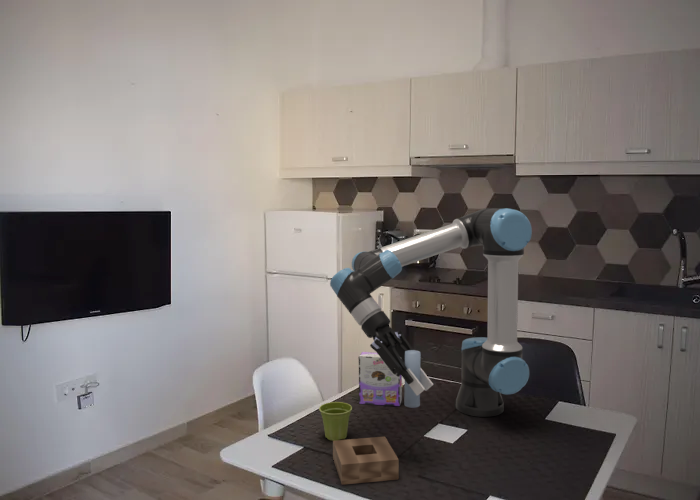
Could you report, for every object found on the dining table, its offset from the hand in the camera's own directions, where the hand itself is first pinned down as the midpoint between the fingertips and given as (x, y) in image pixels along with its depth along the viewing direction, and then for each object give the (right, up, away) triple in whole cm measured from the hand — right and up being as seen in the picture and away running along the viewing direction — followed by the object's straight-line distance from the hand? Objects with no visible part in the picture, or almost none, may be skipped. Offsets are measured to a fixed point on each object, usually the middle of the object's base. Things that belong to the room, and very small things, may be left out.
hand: (425, 389), depth 150 cm
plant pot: (-23, -18, +18) cm, 35 cm away
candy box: (-9, -15, +46) cm, 49 cm away
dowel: (-3, -5, +3) cm, 6 cm away
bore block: (-16, -20, -2) cm, 25 cm away
